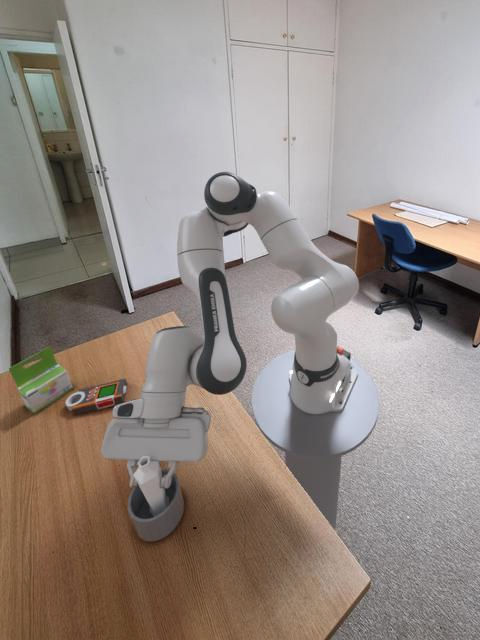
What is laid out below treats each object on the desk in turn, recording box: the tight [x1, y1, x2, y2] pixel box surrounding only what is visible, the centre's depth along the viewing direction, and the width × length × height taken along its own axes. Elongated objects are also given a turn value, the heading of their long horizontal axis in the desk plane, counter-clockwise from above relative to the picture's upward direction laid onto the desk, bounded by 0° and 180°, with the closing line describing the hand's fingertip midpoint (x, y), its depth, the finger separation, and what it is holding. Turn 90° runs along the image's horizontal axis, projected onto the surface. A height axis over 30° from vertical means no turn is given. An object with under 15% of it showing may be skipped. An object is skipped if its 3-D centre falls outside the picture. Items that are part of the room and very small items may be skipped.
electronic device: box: [64, 378, 128, 416], centre depth 92 cm, size 7×3×15 cm
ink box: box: [8, 345, 74, 415], centre depth 90 cm, size 10×5×14 cm, turn 148°
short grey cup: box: [127, 468, 185, 542], centre depth 66 cm, size 9×9×7 cm
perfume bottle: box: [133, 456, 169, 517], centre depth 63 cm, size 5×4×15 cm
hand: (149, 486), depth 62 cm, fingers closed on perfume bottle, 4 cm apart
